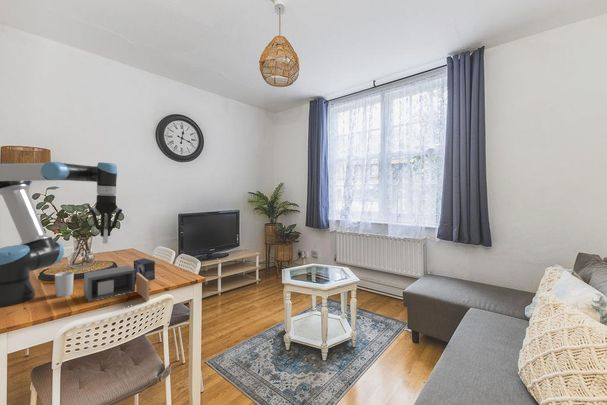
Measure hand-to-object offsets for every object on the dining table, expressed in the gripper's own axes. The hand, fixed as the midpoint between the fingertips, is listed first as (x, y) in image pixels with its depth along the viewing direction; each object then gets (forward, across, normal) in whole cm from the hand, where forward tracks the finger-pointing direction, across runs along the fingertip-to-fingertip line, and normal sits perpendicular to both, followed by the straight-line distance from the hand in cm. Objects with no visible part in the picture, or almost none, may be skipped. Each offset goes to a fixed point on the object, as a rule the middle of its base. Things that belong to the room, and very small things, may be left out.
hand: (105, 242), depth 126 cm
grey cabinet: (+24, +2, -6) cm, 25 cm away
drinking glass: (+25, -14, +6) cm, 29 cm away
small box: (+24, +19, +8) cm, 32 cm away
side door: (+23, +13, -18) cm, 32 cm away
